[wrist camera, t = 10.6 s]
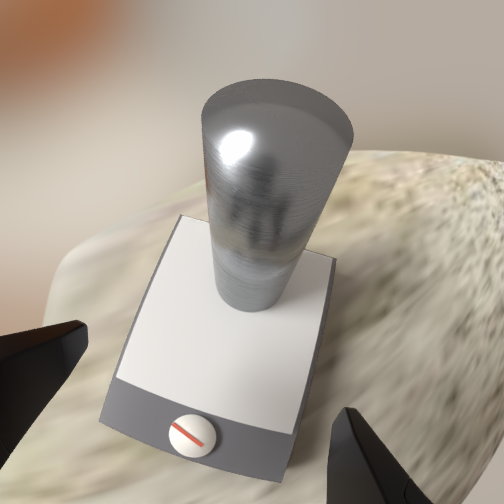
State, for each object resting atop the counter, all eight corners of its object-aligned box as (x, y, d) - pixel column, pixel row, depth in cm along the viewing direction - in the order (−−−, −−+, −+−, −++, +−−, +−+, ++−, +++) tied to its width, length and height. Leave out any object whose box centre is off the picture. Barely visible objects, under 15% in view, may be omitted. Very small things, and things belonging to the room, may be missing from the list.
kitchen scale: (274, 471, 17) (283, 486, 13) (114, 418, 17) (93, 422, 14) (324, 274, 24) (340, 253, 20) (185, 234, 25) (179, 208, 21)
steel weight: (292, 305, 18) (378, 167, 7) (221, 317, 18) (210, 179, 7) (276, 243, 20) (322, 80, 9) (210, 252, 20) (196, 82, 9)
